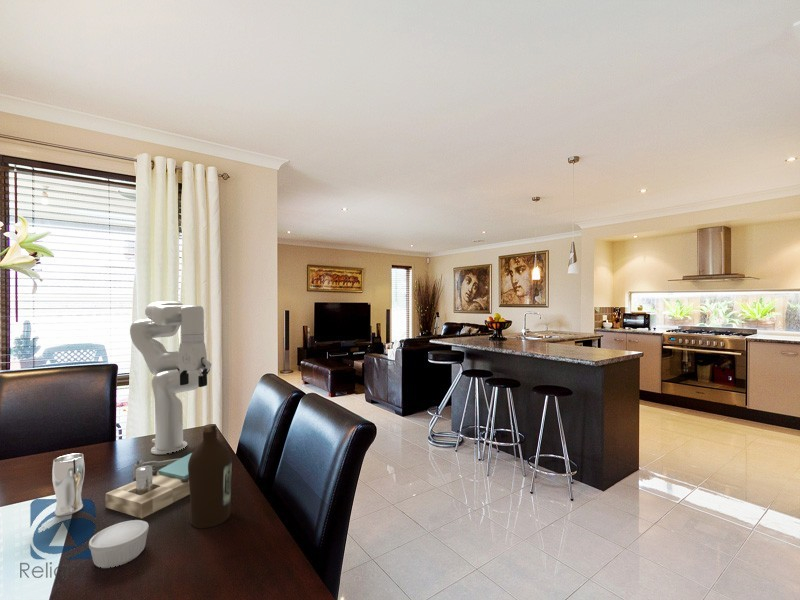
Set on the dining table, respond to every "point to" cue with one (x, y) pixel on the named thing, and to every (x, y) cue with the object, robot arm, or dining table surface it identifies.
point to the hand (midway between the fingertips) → (193, 385)
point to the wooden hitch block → (148, 495)
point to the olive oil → (210, 480)
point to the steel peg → (143, 480)
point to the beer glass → (68, 483)
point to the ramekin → (118, 543)
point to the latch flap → (177, 468)
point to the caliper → (151, 463)
